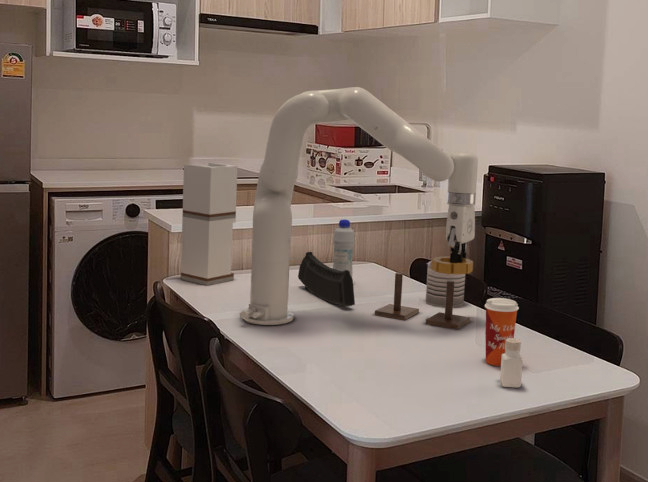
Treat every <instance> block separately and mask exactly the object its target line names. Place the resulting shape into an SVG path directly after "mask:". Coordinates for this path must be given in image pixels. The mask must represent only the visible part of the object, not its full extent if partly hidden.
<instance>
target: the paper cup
mask: <svg viewBox="0 0 648 482" xmlns="http://www.w3.org/2000/svg"><path fill="white" fill-rule="evenodd" d="M518 305H519V304H518V303H517V301H515V300H513V299H511V298H504V297H492V298H488V299H487V300H486V302H485V304H484V308H485V331H484V335H485V362H486V364H488V365H491V366H494V367H495V366H496V367H501V358H502V354H504V353H505V341H506V339H508V338H515V330H516V321H517V314H518V310H519V309H520V307H519V306H518Z"/></svg>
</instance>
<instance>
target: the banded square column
mask: <svg viewBox="0 0 648 482" xmlns="http://www.w3.org/2000/svg"><path fill="white" fill-rule="evenodd" d="M182 181H183V182H182V183H183V184H182V185H183V186H182V187H183V188H182V217H181V218H182V221H181V252H180V253H181V256H180V257H181V258H180V280H183V281H187V282H191V283H195V284H199V285H204V286H210V285H216V284H221V283H225V282H231V281H234V279H235V278H234V277H235V275H234V274H235V273H234V272H232V259H233V254H232V253H233V230H234V229H233V228H234V226H233V224H234V223H235V224H236V221H237V219H236V218H237V193H238V189H237V188H238V165H232V164H224V163H215V162H208V166H207V165H197V164H192V163H191V164H189V163H184V164H183V180H182Z"/></svg>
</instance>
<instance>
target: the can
mask: <svg viewBox="0 0 648 482" xmlns="http://www.w3.org/2000/svg"><path fill="white" fill-rule="evenodd" d="M431 262H432V260H430V261H428V262H426V265H427V272H426V273H427V274H426V287H425V302H426V304H427V305H430V306H433V307H439V308H445V303H446V286H447V281H448V280H452V281H454V297H453V308H459V307H461V306H464V304H465V303H464V302H465V287H466V285H465V284H466V274H444V273H438V272H435V271H433V270H432V269H431Z"/></svg>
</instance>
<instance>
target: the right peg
mask: <svg viewBox="0 0 648 482" xmlns="http://www.w3.org/2000/svg"><path fill="white" fill-rule="evenodd" d="M453 297H454V281H452V280H448V281H447V286H446V303H445V307H444V308H445V309H444V312H441V311H438V312H437V313H435V314H433V315H432V316H430V317H428V318H426V319H425V325H430V326H436V327H442V328H448V329H453V330H460V329H461V328H462V327H465V326H466V325H467V324H469V323H470V322H471V317H470V316H464V315H459V314H453V312H454V311H453V310H454V307H453Z"/></svg>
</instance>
